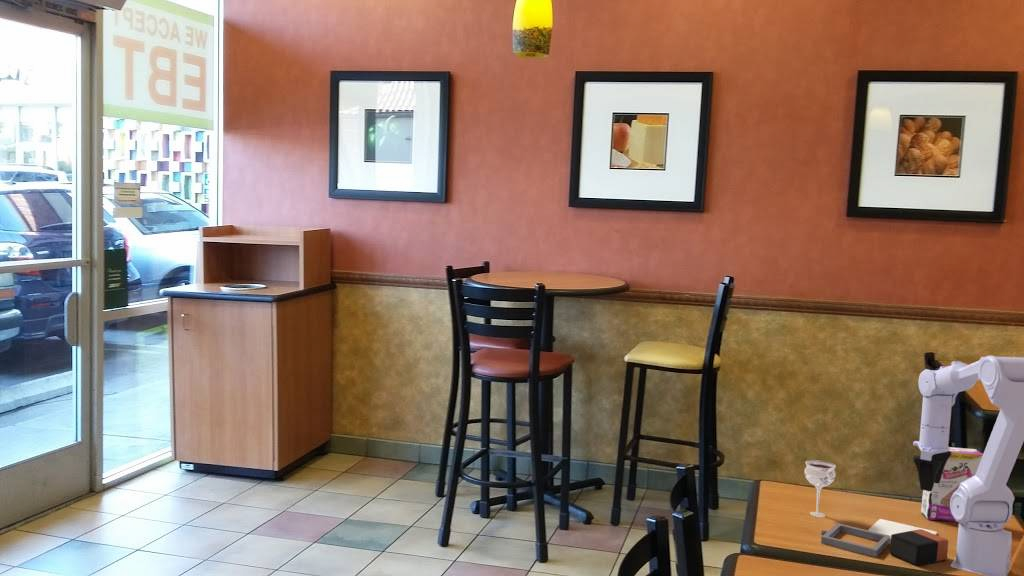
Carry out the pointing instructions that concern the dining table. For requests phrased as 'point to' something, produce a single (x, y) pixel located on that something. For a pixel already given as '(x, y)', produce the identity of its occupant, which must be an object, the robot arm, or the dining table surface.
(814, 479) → the wineglass
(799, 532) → the dining table surface
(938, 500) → the candy bar box
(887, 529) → the mat
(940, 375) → the robot arm
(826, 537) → the frame
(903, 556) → the battery
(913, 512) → the dining table surface
